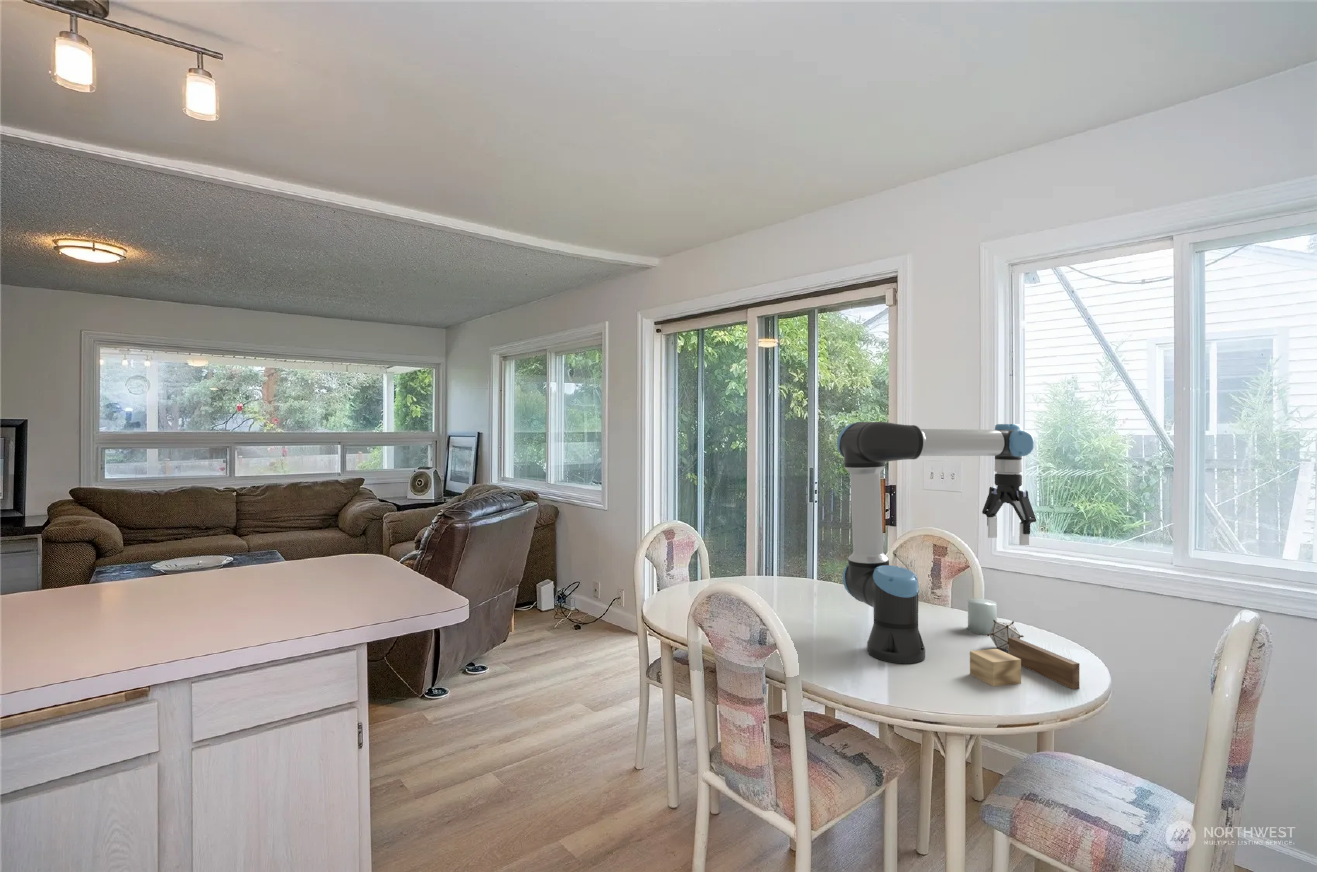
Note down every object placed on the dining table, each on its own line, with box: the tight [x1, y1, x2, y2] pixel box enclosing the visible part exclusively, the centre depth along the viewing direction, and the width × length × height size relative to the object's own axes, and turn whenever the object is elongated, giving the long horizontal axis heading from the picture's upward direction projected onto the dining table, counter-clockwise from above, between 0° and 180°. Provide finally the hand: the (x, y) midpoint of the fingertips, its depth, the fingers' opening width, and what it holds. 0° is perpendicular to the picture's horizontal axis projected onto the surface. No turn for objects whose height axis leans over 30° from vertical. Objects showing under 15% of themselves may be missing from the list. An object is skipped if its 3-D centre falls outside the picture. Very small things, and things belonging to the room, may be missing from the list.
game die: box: [986, 620, 1025, 650], centre depth 178 cm, size 9×8×10 cm
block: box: [969, 648, 1022, 687], centre depth 158 cm, size 8×8×6 cm
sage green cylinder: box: [967, 597, 998, 636], centre depth 195 cm, size 8×8×9 cm
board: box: [1008, 637, 1080, 690], centre depth 161 cm, size 2×20×6 cm, turn 13°
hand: (1007, 541), depth 197 cm, fingers open, 13 cm apart
